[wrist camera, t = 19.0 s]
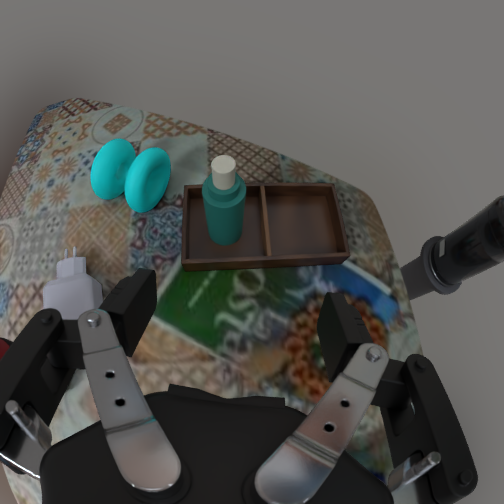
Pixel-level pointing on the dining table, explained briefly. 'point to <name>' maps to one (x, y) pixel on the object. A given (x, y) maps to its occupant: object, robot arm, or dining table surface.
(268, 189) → the tray
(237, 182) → the bottle
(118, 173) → the donuts
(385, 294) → the dining table surface
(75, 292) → the charger
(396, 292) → the dining table surface
